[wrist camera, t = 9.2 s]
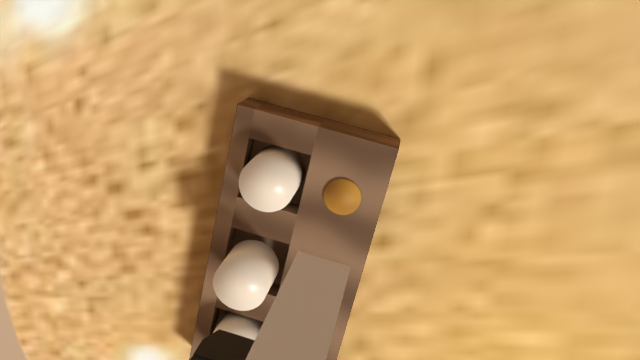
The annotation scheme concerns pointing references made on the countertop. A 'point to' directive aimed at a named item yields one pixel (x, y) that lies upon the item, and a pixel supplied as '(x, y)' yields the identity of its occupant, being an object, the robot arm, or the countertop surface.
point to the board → (301, 203)
